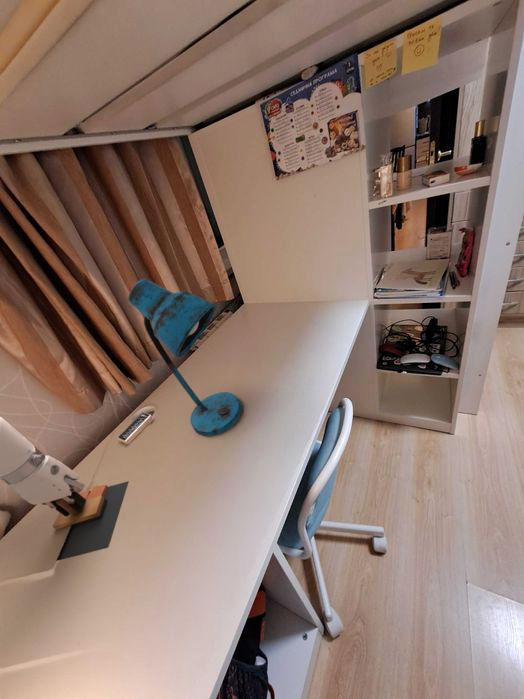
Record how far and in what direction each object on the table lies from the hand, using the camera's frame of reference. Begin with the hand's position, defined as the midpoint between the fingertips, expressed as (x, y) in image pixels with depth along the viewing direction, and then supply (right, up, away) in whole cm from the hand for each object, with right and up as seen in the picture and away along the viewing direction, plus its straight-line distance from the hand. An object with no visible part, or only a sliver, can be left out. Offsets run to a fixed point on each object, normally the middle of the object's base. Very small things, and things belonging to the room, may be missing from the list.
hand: (76, 508), depth 70 cm
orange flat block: (-2, -1, +5) cm, 6 cm away
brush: (+1, -3, +2) cm, 3 cm away
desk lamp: (+33, +18, +18) cm, 42 cm away
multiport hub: (+5, +12, +23) cm, 27 cm away
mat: (+1, -4, +1) cm, 4 cm away
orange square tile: (+2, 0, +5) cm, 6 cm away
